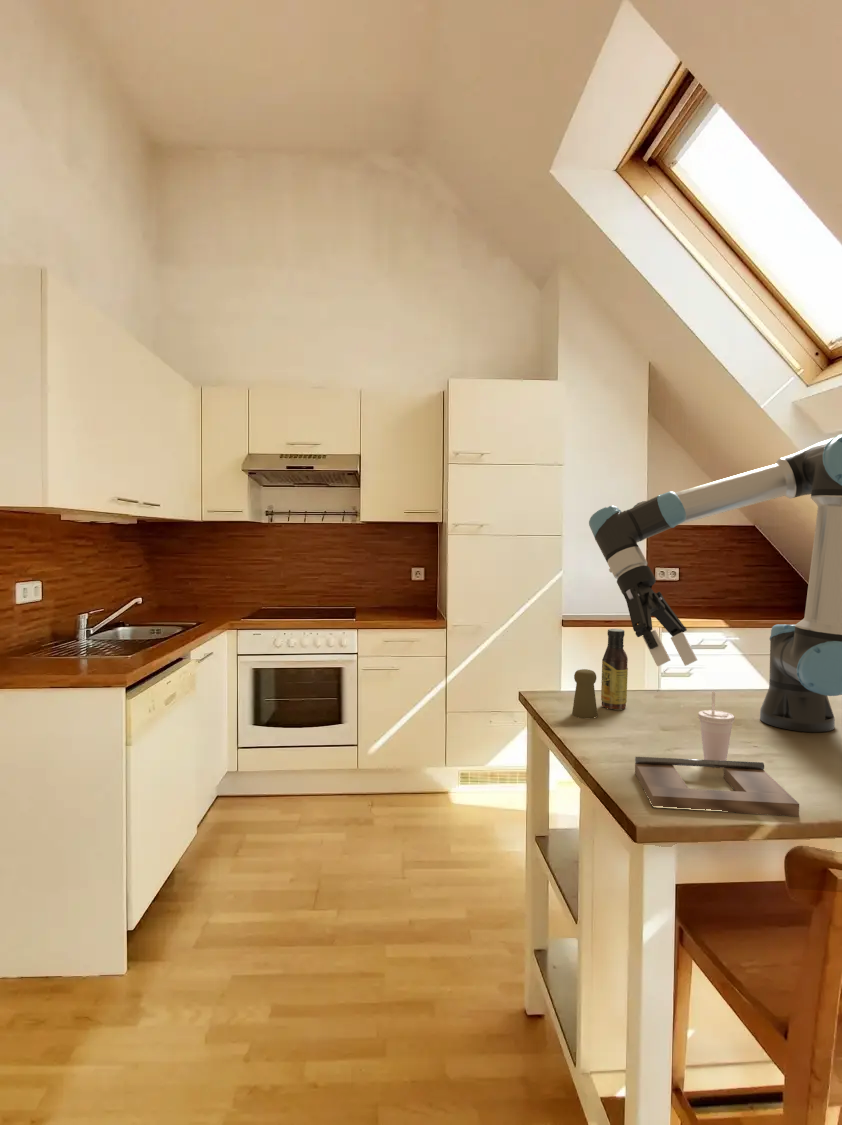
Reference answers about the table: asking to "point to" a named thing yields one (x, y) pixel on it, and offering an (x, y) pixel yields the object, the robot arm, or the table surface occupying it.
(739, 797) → the slot board
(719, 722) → the smoothie
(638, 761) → the hook bar
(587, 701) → the cork
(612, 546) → the robot arm
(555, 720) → the table surface
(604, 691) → the sauce bottle
